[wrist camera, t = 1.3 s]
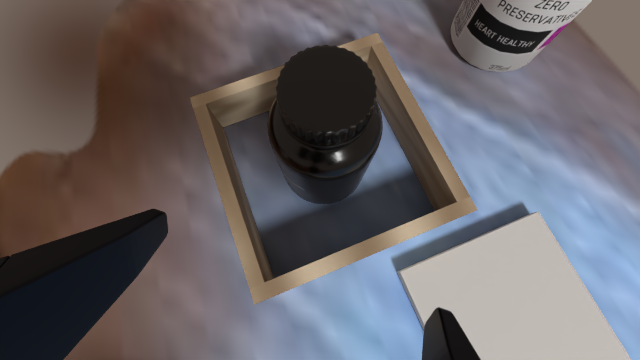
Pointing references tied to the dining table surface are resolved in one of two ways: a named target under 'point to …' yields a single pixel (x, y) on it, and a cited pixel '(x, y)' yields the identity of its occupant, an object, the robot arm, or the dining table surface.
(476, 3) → the supplement can
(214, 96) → the crate
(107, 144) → the dining table surface
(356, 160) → the supplement bottle
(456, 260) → the mat
